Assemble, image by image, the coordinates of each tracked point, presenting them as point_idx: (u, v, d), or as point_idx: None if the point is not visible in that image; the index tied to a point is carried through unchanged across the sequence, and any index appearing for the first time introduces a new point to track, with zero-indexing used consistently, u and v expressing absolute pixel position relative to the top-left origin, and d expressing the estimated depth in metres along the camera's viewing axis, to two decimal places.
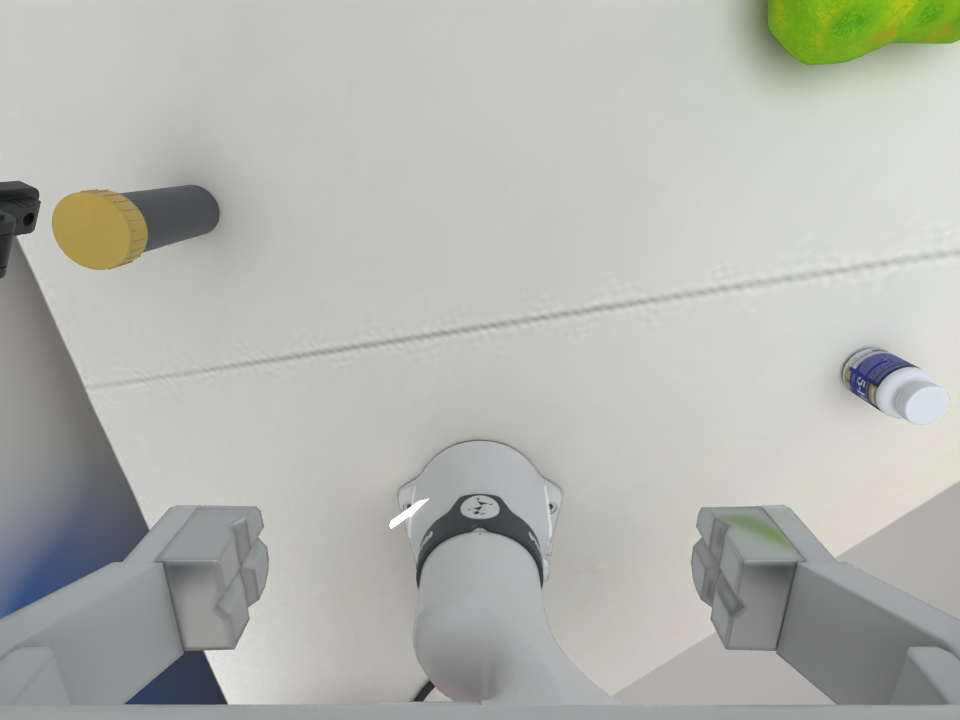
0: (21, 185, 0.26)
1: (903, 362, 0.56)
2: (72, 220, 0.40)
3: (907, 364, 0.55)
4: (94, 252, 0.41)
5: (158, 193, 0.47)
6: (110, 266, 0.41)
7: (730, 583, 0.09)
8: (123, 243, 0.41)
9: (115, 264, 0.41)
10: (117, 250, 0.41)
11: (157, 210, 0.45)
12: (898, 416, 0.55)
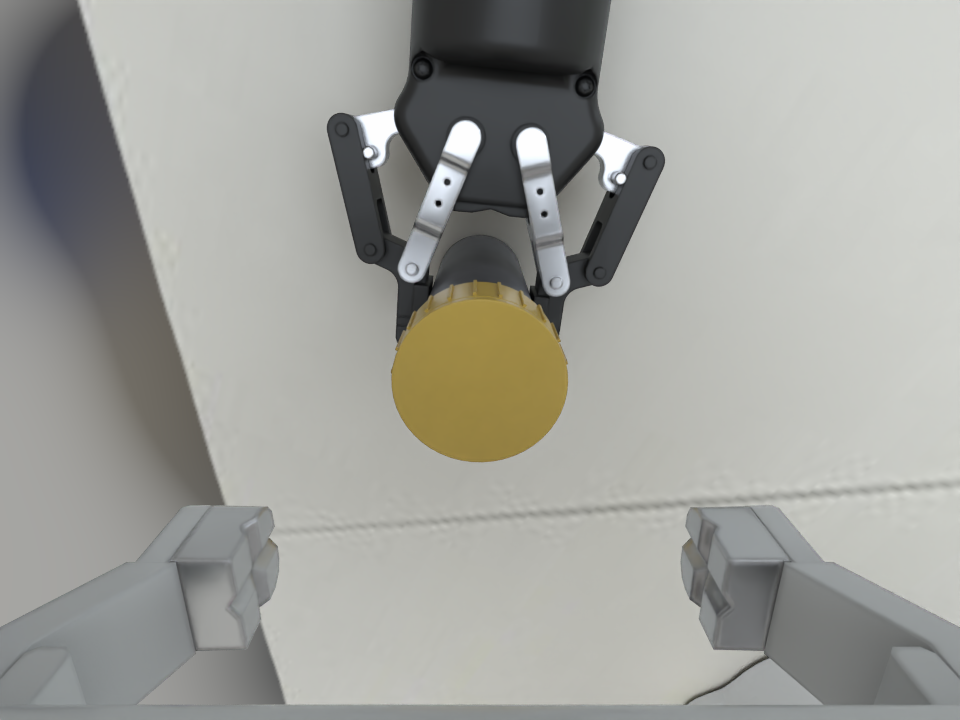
0: None
1: None
2: (444, 358, 0.17)
3: None
4: (473, 427, 0.18)
5: (506, 268, 0.24)
6: (500, 457, 0.18)
7: (717, 583, 0.09)
8: (546, 413, 0.18)
9: (512, 454, 0.18)
10: (527, 426, 0.18)
11: None
12: None
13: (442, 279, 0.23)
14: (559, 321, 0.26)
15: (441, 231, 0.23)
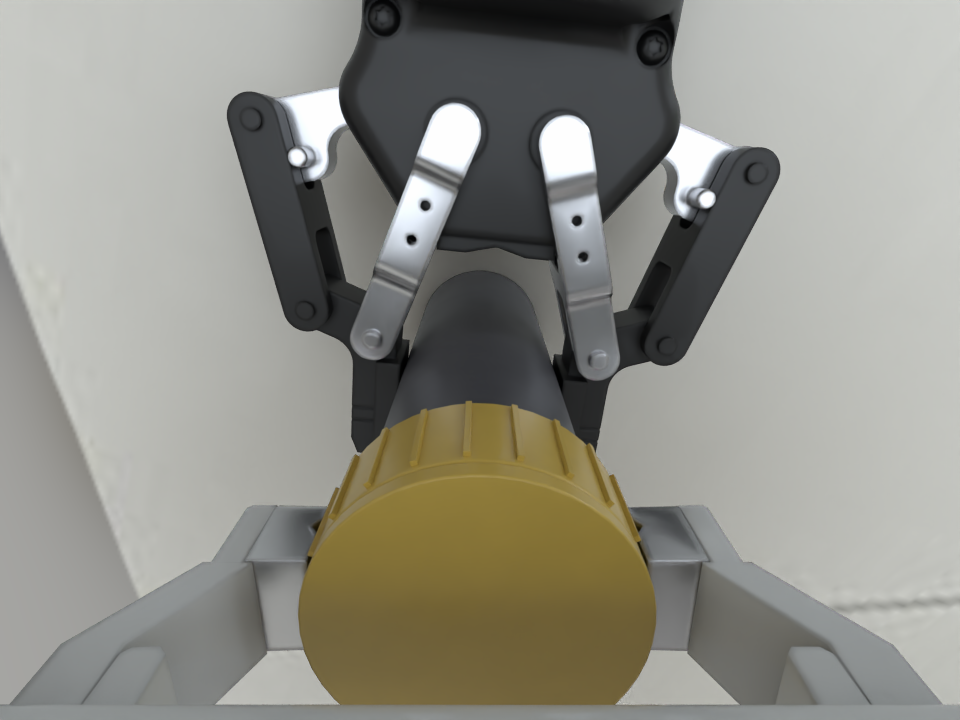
0: None
1: None
2: (405, 583, 0.08)
3: None
4: (464, 700, 0.09)
5: (521, 339, 0.15)
6: None
7: None
8: (609, 678, 0.09)
9: None
10: (570, 699, 0.09)
11: (571, 424, 0.13)
12: None
13: (418, 360, 0.15)
14: (600, 414, 0.17)
15: (417, 283, 0.15)
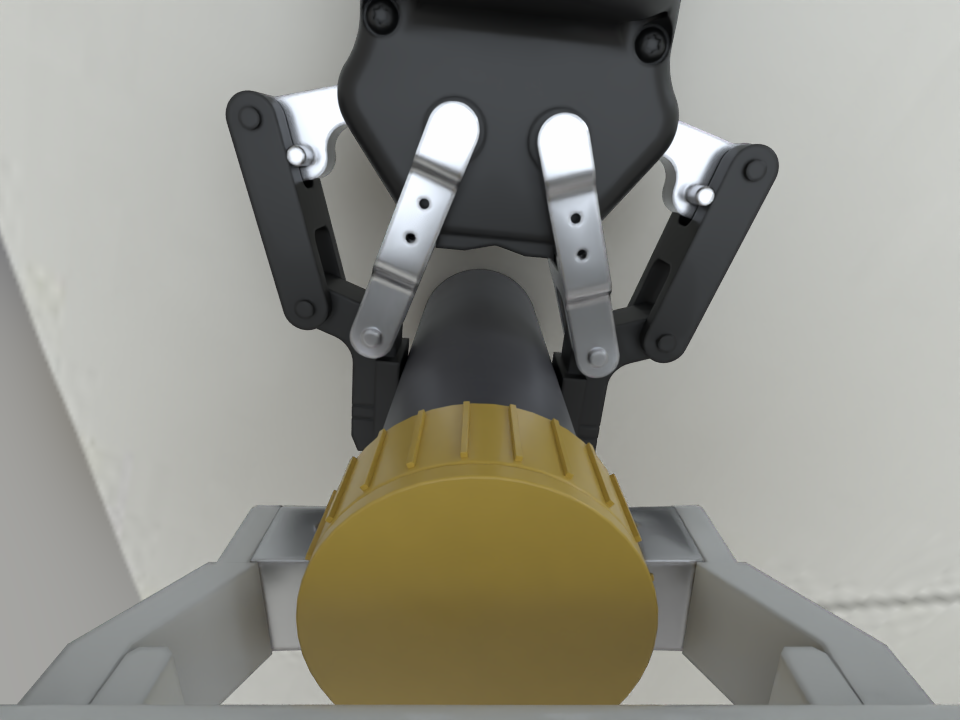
0: None
1: None
2: (411, 679, 0.09)
3: None
4: (569, 652, 0.09)
5: (520, 337, 0.15)
6: (652, 616, 0.08)
7: None
8: (566, 525, 0.08)
9: (650, 593, 0.08)
10: (590, 562, 0.08)
11: None
12: None
13: (418, 358, 0.15)
14: (600, 411, 0.17)
15: (416, 281, 0.15)
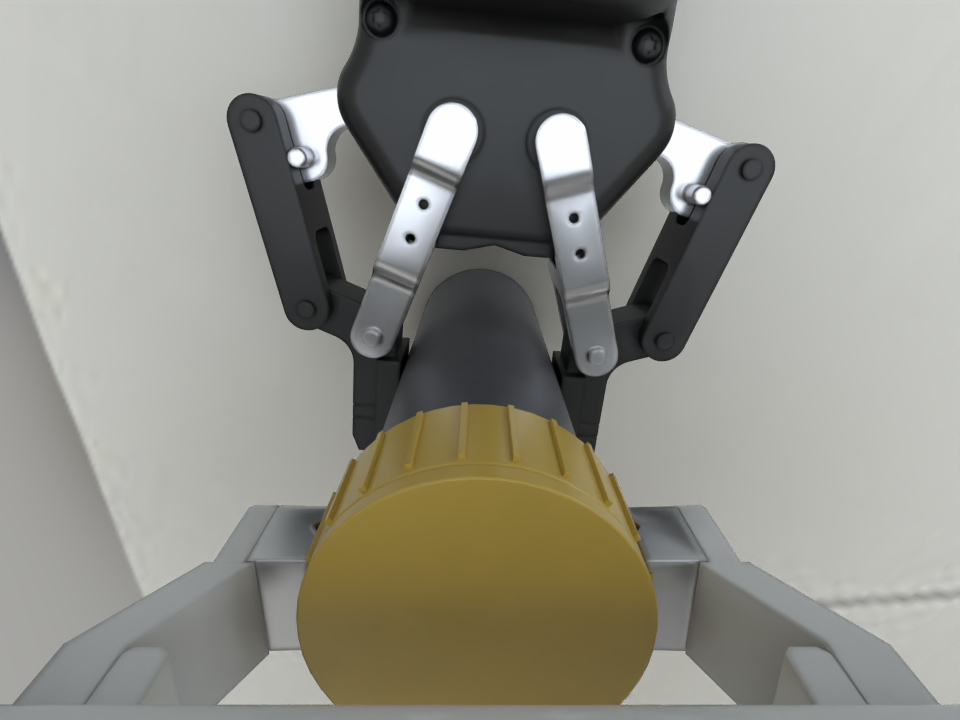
0: None
1: None
2: (527, 690, 0.09)
3: None
4: (516, 560, 0.08)
5: (520, 336, 0.15)
6: (477, 483, 0.08)
7: None
8: (352, 553, 0.08)
9: (448, 483, 0.08)
10: (399, 535, 0.08)
11: None
12: None
13: (418, 357, 0.15)
14: (599, 409, 0.17)
15: (416, 281, 0.15)
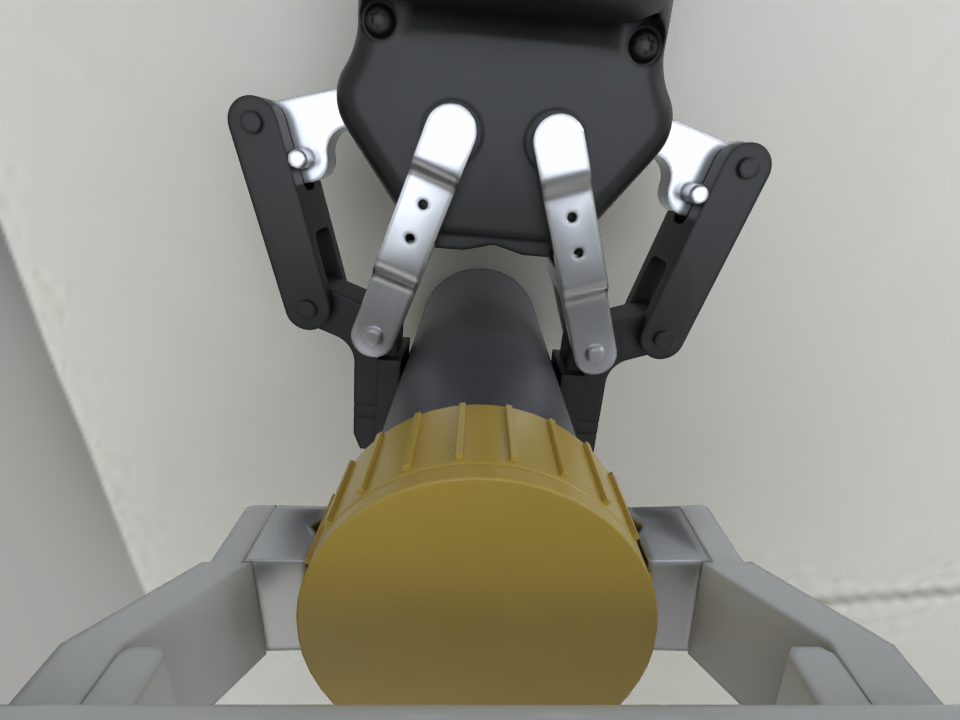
0: None
1: None
2: (560, 601, 0.08)
3: None
4: (390, 595, 0.08)
5: (519, 335, 0.16)
6: (302, 615, 0.08)
7: None
8: None
9: (302, 635, 0.09)
10: (355, 675, 0.09)
11: None
12: None
13: (418, 356, 0.15)
14: (598, 407, 0.17)
15: (416, 281, 0.15)
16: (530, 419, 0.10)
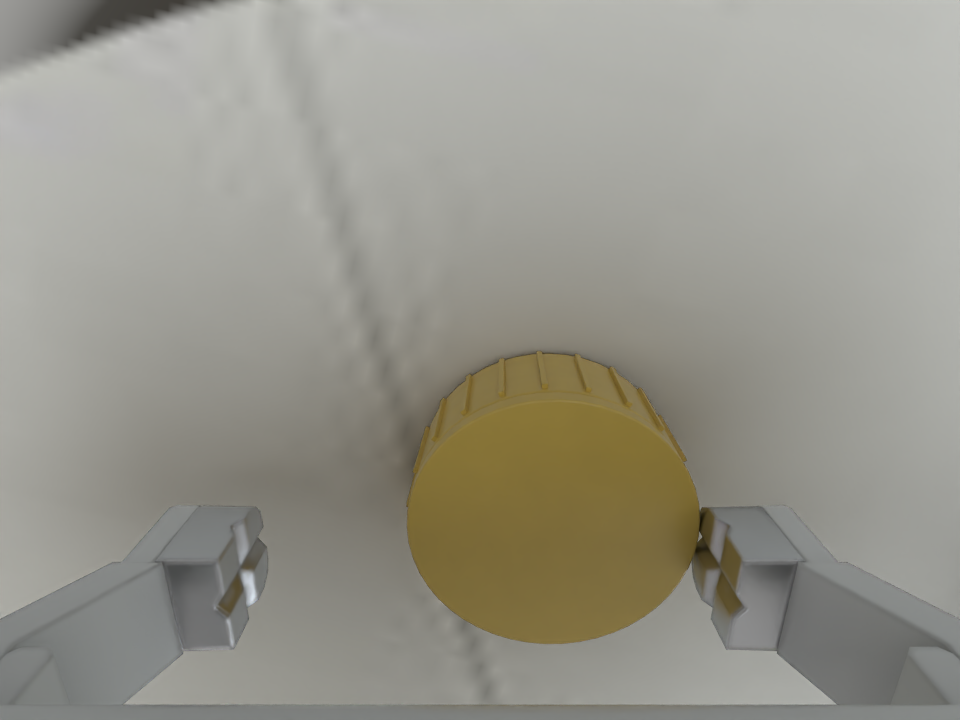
0: None
1: None
2: (478, 541, 0.11)
3: None
4: (600, 580, 0.11)
5: None
6: (672, 584, 0.11)
7: (731, 583, 0.09)
8: (670, 490, 0.10)
9: (683, 568, 0.11)
10: (664, 524, 0.10)
11: None
12: None
13: None
14: None
15: None
16: None
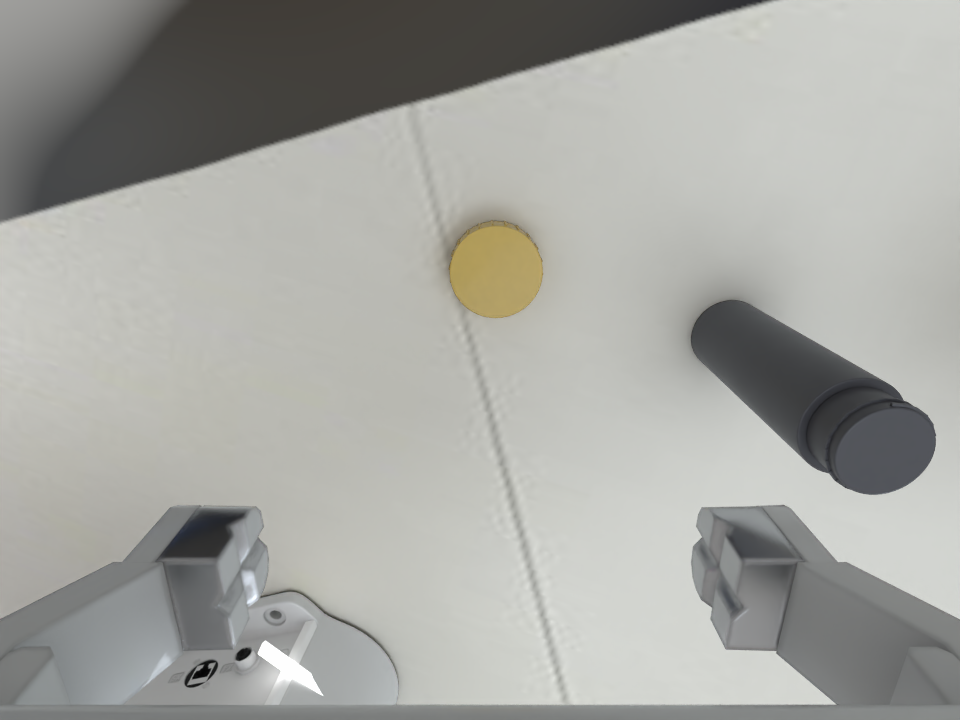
0: None
1: None
2: (473, 277, 0.33)
3: None
4: (512, 291, 0.33)
5: None
6: (536, 291, 0.33)
7: (730, 583, 0.09)
8: (532, 256, 0.33)
9: (539, 285, 0.33)
10: (531, 268, 0.33)
11: None
12: None
13: None
14: None
15: None
16: None
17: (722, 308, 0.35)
